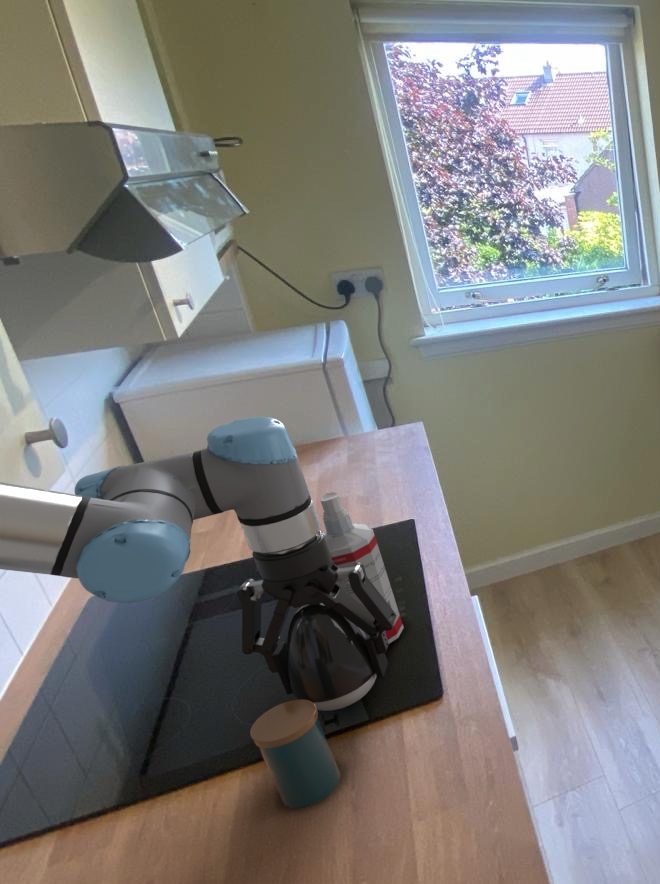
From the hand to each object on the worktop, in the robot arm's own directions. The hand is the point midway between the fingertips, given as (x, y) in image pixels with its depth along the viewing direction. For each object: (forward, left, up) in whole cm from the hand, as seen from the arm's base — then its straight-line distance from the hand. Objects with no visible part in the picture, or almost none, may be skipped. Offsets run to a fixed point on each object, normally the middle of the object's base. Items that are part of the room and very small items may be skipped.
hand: (338, 678), depth 99 cm
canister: (-3, -14, -4) cm, 15 cm away
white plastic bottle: (+3, +14, -4) cm, 15 cm away
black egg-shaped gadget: (0, 0, -3) cm, 3 cm away
